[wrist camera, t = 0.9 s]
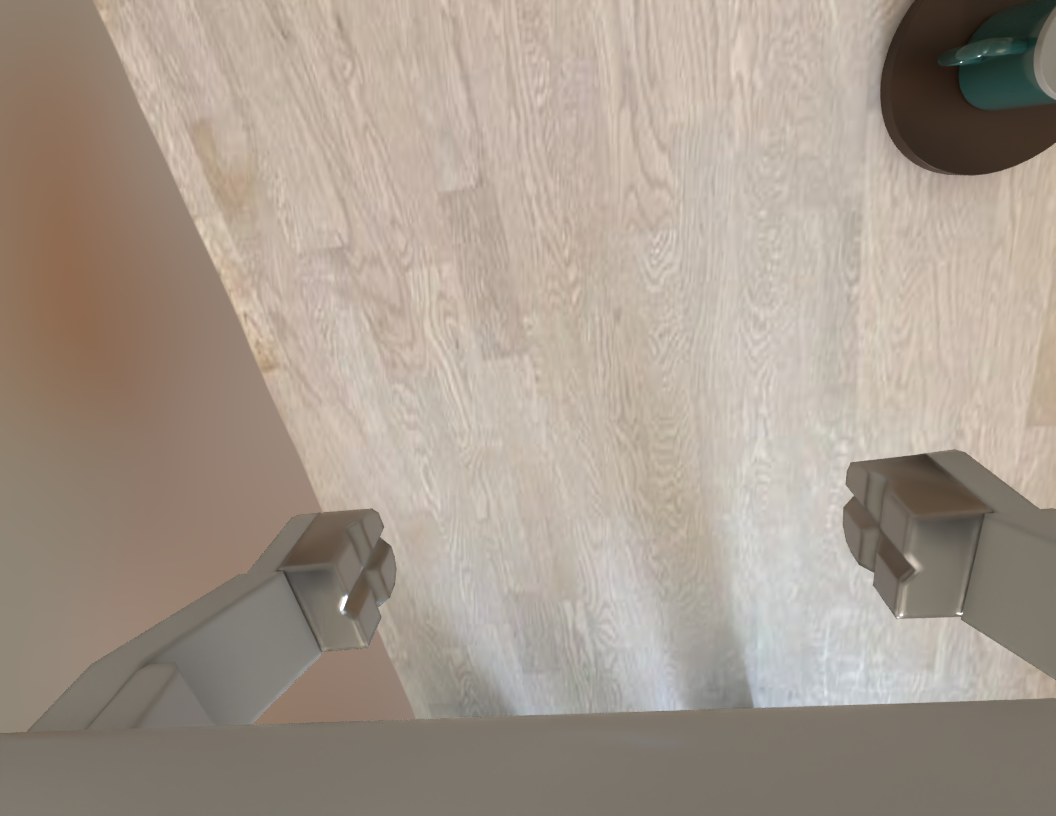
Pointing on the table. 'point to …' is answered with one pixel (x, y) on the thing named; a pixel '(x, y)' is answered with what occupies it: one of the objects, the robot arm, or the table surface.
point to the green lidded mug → (1009, 58)
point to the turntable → (952, 97)
